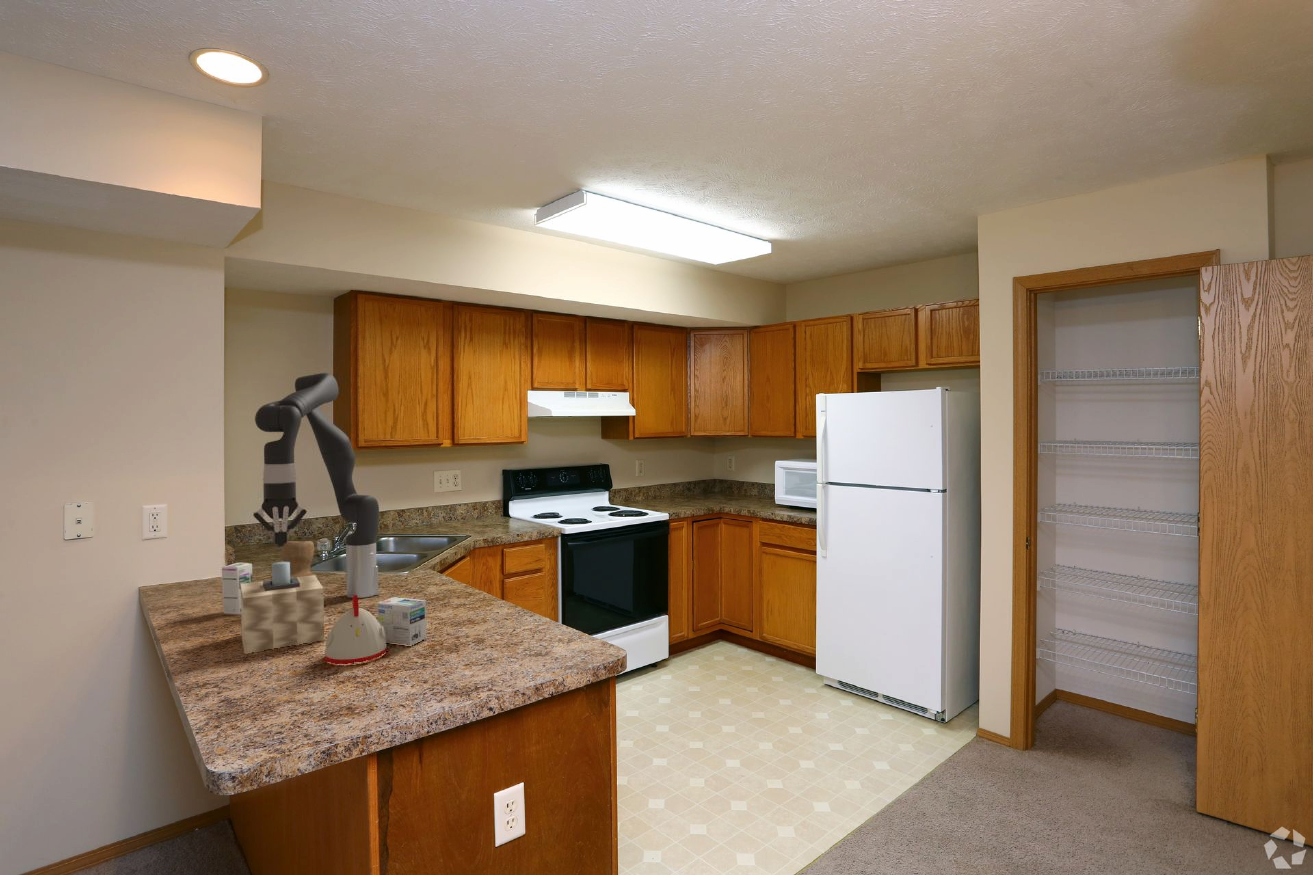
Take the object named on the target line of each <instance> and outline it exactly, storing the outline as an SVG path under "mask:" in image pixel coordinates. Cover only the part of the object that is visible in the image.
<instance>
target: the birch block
mask: <svg viewBox="0 0 1313 875" xmlns="http://www.w3.org/2000/svg"><path fill="white" fill-rule="evenodd" d="M294 578H295V577H294ZM297 579H298V581H299V582H300V587H294V588H286V589H278V590H270V591H265V589H264V586H263V581H264V580H261V581H253V582H251V583H242V584H241V614H240V617H241V618H240V620H241V621H240V622H241V624H240V625H241V627H240V628H241V640H242V647H243V654H244V655H246V654H253V653H252V652H254V653H260V652H265V651H264V650H266V651H268V650H267V649H272V650H275V649H274V648H278V647H284V648H287V647H286V646H290V645H296V646H300V645H299V644H302V645H304V644H303V643H308V644H313V643H312V642H315V643H317V642H316V641H321V642H324V641H325V612H324V611H325V610H324V609H325V608H324V606H325V605H324V601H325V600H324V599H325V598H324V595H325V594H324V587H323V585H322V583H320V581H319V579H318V577H317V578H316V576H315V575H311V576H302V577H297ZM269 580H270V579H269ZM269 580H267V581H269ZM290 647H291V646H290ZM278 649H279V648H278Z"/></svg>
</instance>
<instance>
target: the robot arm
mask: <svg viewBox="0 0 1313 875" xmlns="http://www.w3.org/2000/svg"><path fill="white" fill-rule="evenodd" d="M338 385H339V384H338V382H337V379H336V377H334V375H333V374H330V373H327V372H321V373H313V374H309V375H303V376H300V377H297V378H296V380H295V381H294V388H295V391H294V392H292V393H290V394H288V395H286V396H285V397H284V398H282V399H281V400H276V401H273V402H269V403H266V404H264V405H262V406H260V408H258V410H257V411H256V413H255V416H254V421H255V425H256V427H257V428H258V429H259V430H260V431H262V432H266V433H283V434H282V436H281V437H280V438H279V439H277V440H271V441H268V442H266V443H265V444H264V447H263V474H262V475H263V476H262V483H263V487H262V488H263V501H262V504H261V508H259V509H258V510H257V511H254V512H253V513H252V516H253V517H254V519H256V521H258V522H259V523H260V524H261V526H262V527H264V528H265V529H266V531H268V532H269V531H271V532H272V533H274V537H273V538H274V543H275V544H274V545H277V547H282V546H284V544H286V543H287V541H288V531H290V530H293V529H294V528H295V527H296V526H297V525H298V524H299V522H300V521H302V519H303V518H304V516H305V515H306V514H307V513H308V512H307V510H306V508H303V507H301V506H300V505H299V503H298V501H297V493H296V492H297V486H296V485H297V484H296V482H297V481H296V480H297V477H296V468H295V466H296V465H295V447H296V442H297V437H298V434H299V430H300V427H301V425H302V424H301V422H302V418H304V417H306V418H307V420H308V423H309V425H310V427H311V430H312V432H313V435H314V437H315V441H316V444H317V446H318V448H319V449H318V450H319V452H320V455H321V457H322V460H323V463H324V465H325V467H326V469H327V473H328V476H329V478H330V482H331V484H332V487H333V490H334V491H333V492H334V496H335V499H336V503H337V508H338V510H339V513H340V516H341V518H342V519H343V520H345V521H346V522H348V523H354V524H355V529H354V531H353V532H352V533H349V534H347V535H346V537H345V563H346V564H345V565H346V568H345V570H346V574H345V575H346V597H347V598H350V599H353V595H357V596H358V599H363V598H369V597H372V596H377V595H379V566H378V565H377V537H378V535H379V534H378V533H379V528H380V526H379V522H380V521H379V520H380V505H379V502H378V500H377V499H376V497H375V496H373V495H367V494H358V492H357V491H356V488H355V485H354V481H353V472H354V468H355V463H356V455H355V451H354V449H353V446H352V442H351V440H350V438H349V436H348V435H347V434H346V433H345V432H344V431H343V430H342V429H340V428H339V427H338V426H336V425H335V424H334V423H333V422H332V421H330V420H329V419H328V417H326V416H325V414H324V413H323V411H322V410H321V408H320V406H322V405H324V404H328V403H331V402H334V401H335V400H336V399H337V398H338V395H339V393H340V392H339V386H338ZM294 512H295V514H296V515H295V517H294V518H293V519H292V520H291V521H290V523H288V522H289V518H290V517H291V516H292V515H293V514H294ZM264 513H265V514H266V515H267V516H268V517H269V518H270V519H272V523H273V525H271V524H270V523H268V521H267V520H266V519H265V514H264ZM280 520H281V525H280ZM280 526H281V527H280Z"/></svg>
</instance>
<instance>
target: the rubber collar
mask: <svg viewBox="0 0 1313 875" xmlns="http://www.w3.org/2000/svg"><path fill="white" fill-rule="evenodd" d="M262 581H263V586H264V589H265V591H270V590H278V589H286V588H294V587H300V582H299V581H298V579H297V577H295V578H290V583H286V584H278V585H272V580H270V579H269V581H268V580H262Z"/></svg>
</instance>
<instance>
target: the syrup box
mask: <svg viewBox="0 0 1313 875" xmlns="http://www.w3.org/2000/svg"><path fill="white" fill-rule="evenodd" d="M251 582H254V581H253V564H252V562H251V563H250V562H235V563H232V564H229V565H225V566H221V584H222V585H221V588H222V610H223V612H222V613H223V614H224V615H236V616H237V615H238V616H239V615H241V584H242V583H251Z"/></svg>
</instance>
